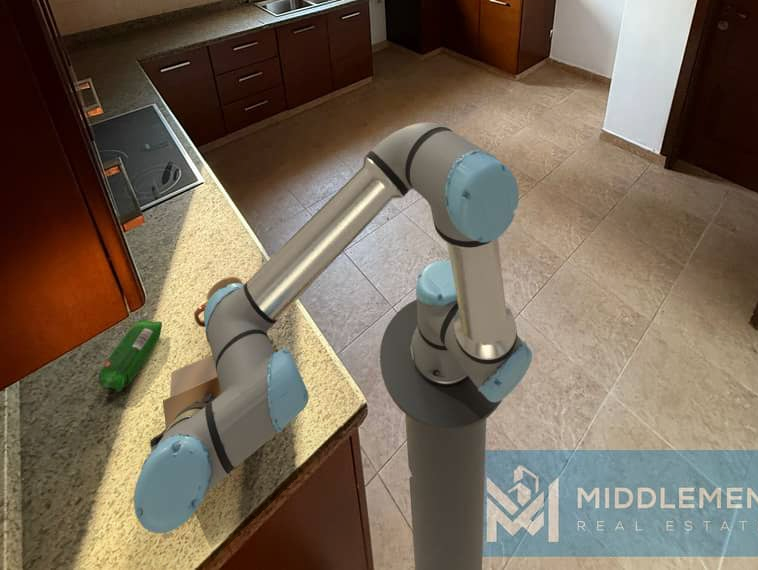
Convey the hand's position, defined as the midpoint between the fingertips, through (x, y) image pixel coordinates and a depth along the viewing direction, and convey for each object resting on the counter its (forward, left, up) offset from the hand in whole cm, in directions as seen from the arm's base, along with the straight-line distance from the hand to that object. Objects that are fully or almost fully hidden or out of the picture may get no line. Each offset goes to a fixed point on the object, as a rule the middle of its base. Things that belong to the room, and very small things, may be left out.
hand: (209, 402), depth 78 cm
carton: (0, -5, -14) cm, 15 cm away
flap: (0, -1, 0) cm, 1 cm away
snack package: (+18, -28, -14) cm, 36 cm away
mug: (-2, -27, -14) cm, 31 cm away
